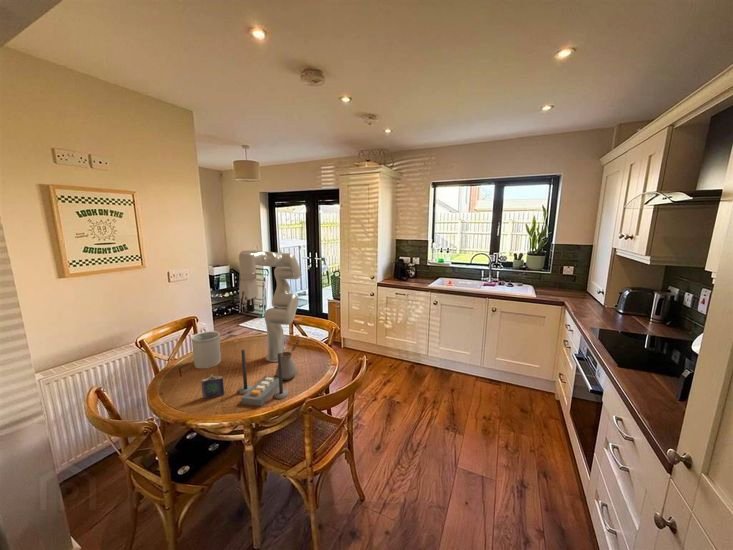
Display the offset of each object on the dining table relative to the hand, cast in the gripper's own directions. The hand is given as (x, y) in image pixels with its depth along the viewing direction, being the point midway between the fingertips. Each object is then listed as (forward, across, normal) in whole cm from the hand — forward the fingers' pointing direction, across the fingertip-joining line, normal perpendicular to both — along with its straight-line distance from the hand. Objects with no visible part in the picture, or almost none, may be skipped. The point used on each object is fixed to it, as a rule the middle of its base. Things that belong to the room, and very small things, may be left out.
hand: (250, 311), depth 150 cm
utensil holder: (+37, -10, -36) cm, 53 cm away
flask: (+37, +20, -10) cm, 43 cm away
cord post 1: (+37, +13, +3) cm, 39 cm away
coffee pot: (+37, -8, +17) cm, 42 cm away
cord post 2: (+37, +14, +22) cm, 45 cm away
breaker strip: (+37, +13, +12) cm, 41 cm away
